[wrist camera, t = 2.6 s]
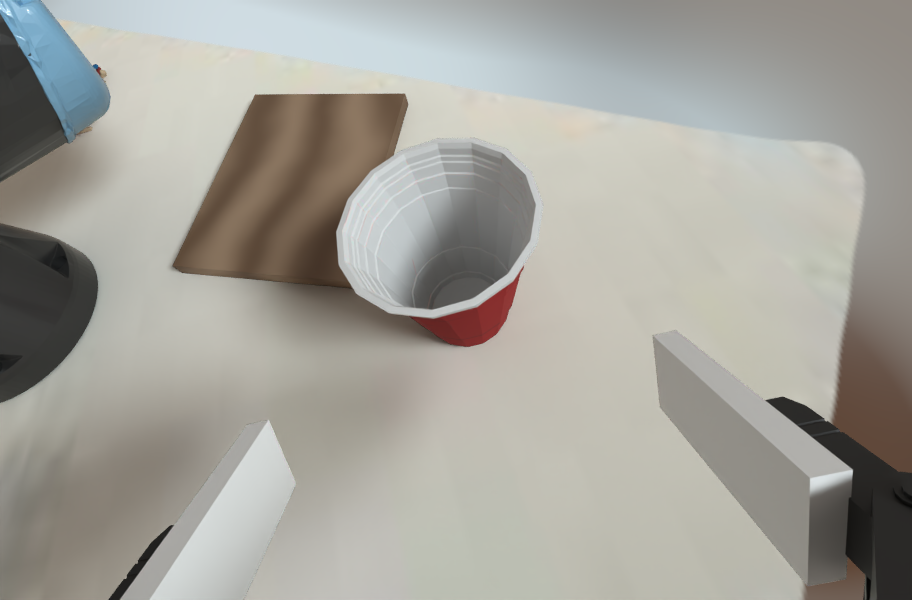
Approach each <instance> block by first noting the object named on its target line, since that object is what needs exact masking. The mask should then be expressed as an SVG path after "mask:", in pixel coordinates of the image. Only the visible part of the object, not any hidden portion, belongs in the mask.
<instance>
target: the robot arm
mask: <svg viewBox="0 0 912 600" xmlns="http://www.w3.org/2000/svg"><path fill="white" fill-rule="evenodd" d="M109 104H110V93H109V90H108V87H107V85H106V83H105V82H104V81H103V79H102V78H101V76H100V75H99V74H98V72H97V71H96V70H95V69H94V67H93V66H92V65H91V63H90V62H89V61H88V60H87V58H86V57H85V56H84V54H83V53H82V52H81V51H80V49H79V48H78V47H77V45H76V44H75V43H74V42H73V40H72V39H71V38H70V37H69V35H68V34H67V33H66V31H65V30H64V29H63V28H62V26H61V25H60V24H59V23H58V21H57V20H56V19H55V17H54V16H53V15H52V14H51V13H50V11H49V10H48V9H47V8H46V6H45V5H44V4H43V3H42V1H41V0H0V182H2V181H4V180H5V179H7V178H8V177H10V176H12V175H13V174H15V173H17V172H18V171H20V170H22V169H23V168H25V167H27V166H28V165H30V164H32V163H33V162H35V161H36V160H38V159H40V158H41V157H43V156H45V155H46V154H48V153H50V152H51V151H53V150H55V149H56V148H58V147H60V146H61V145H63V144H64V143H66V142H67V143H71V142H73V140H74V139H75V137H76V134H77V133H79V132H80V131H82V130H83V129H85V128H86V127H87V126H89V125H90V124H92V123H93V122H95V121H96V120H98V119H99V118H100V117H102V116H103V115H104V114H105V113H106V112H107V110H108V108H109ZM97 291H98V282H97V275H96V271H95V269H94V266H93V264H92V263H91V261H90V260H89V259H88V258H87V257H86V256H85V255H84V254H83V253H82V252H80V251H78V250H76V249H75V248H73V247H71V246H69V245H68V244H66V243H64V242H62V241H61V240H59V239H56V238H54V237H52V236H49V235H45V234H41V233H37V232H33V231H29V230H25V229H21V228H17V227H13V226H9V225H5V224H1V223H0V403H1V402H3V401H6V400H8V399H11V398H13V397H15V396H17V395H19V394H21V393H22V392H24V391H26V390H28V389H29V388H31V387H32V386H34V385H35V384H37V383H38V382H39V381H41V380H42V379H43V378H44V377H46V376H47V375H48V374H49V373H50V372H51V371H53V370H54V369H55V368H56V367H57V366H58V365H59V364H60V363H61V362H62V361H63V360H64V358H65V357H66V356H67V355H68V354H69V353H70V351H71V350H72V349H73V347H74V346H75V345H76V343H77V342H78V340H79V339H80V337H81V336H82V334H83V332H84V330H85V329H86V327H87V325H88V323H89V320H90V318H91V316H92V313H93V310H94V307H95V303H96V299H97ZM653 344H654V354H655V364H656V373H657V383H658V393H659V403H660V408H661V409H662V410H663V411H664V413H665V414H666V415H667V416H668V418H669V419H670V420H671V421H672V422H673V424H674V425H675V426H676V427H677V428H678V430H679V431H680V432H681V433H682V435H683V436H684V437H685V438H686V439H687V441H688V442H689V443H690V444H691V445H692V447H693V448H694V449H695V450H696V452H697V453H698V454H699V455H700V456H701V458H702V459H703V460H704V461H705V462H706V464H707V465H708V466H709V467H710V468H711V470H712V471H713V472H714V473H715V475H716V476H717V477H718V478H719V479H720V481H721V482H722V483H723V484H724V485H725V487H726V488H727V489H728V490H729V492H730V493H731V494H732V495H733V496H734V498H735V499H736V500H737V501H738V502H739V504H740V505H741V506H742V507H743V509H744V510H745V511H746V512H747V513H748V515H749V516H750V517H751V518H752V519H753V521H754V522H755V523H756V524H757V526H758V527H759V528H760V529H761V530H762V532H763V533H764V534H765V535H766V536H767V538H768V539H769V540H770V541H771V543H772V544H773V545H774V546H775V547H776V549H777V550H778V551H779V552H780V553H781V555H782V556H783V557H784V558H785V559H786V561H787V562H788V563H789V564H790V566H791V567H792V568H793V569H794V570H795V572H796V573H797V574H798V575H799V576H800V578H801V579H802V580H803V581H804V583H805V584H806V585H807V586H811V585H817V584H822V583H827V582H833V581H838V580H844V579H846V572H847V557H849V558H850V559H851V561H852V562H853V563H854V564H855V565H856V566H857V567H858V568H859V569H860V570H861V571H862V572H863V573H864V574H865V586H864V598H863V600H912V473H906V472H898V471H897V470H895V469H894V468H892V467H891V466H890V465H888V464H887V463H885V462H884V461H883V460H881V459H880V458H878V457H877V456H876V455H874V454H873V453H871V452H870V451H868V450H867V449H866V448H864V447H863V446H862V445H860V444H859V443H857V442H856V441H855V440H853V439H852V438H850V437H849V436H848V435H846V434H845V433H843V432H840V431H839V429H838V428H836V427H835V426H834V425H832V424H831V423H829V422H828V421H827V422H826V421H825V420H824V418H822V417H821V416H820V415H818V414H817V413H815V412H814V411H813V410H811V409H810V408H808V407H807V406H805V405H803V404H800V403H798V402H795V401H793V400H790V399H787V398H785V397H779V398H774V399H769V400H764V399H763V398H761V397H760V396H759V395H758V394H756V393H755V392H754V391H753V390H751V389H750V388H749V387H748V386H746V385H745V384H744V383H742V382H741V381H740V380H739V379H737V378H736V377H735V376H734V375H732V374H731V373H730V372H729V371H727V370H726V369H725V368H724V367H722V366H721V365H720V364H718V363H717V362H716V361H715V360H713V359H712V358H711V357H710V356H708V355H707V354H706V353H705V352H703V351H702V350H701V349H699V348H698V347H697V346H696V345H694V344H693V343H692V342H691V341H689V340H688V339H687V338H686V337H684V336H683V335H682V334H680V333H679V332H678V331H677V330H675V331H670V332H666V333H661V334H656V335H653ZM295 486H296V482H295V479H294V477H293V475H292V473H291V470H290V468H289V466H288V463H287V461H286V459H285V456H284V454H283V452H282V449H281V447H280V445H279V443H278V440H277V438H276V436H275V433H274V431H273V429H272V426H271V424H270V422H269V420H265V421H261V422H256V423H252V424H247V426H246V427H245V428H244V430H243V431H242V433H241V434H240V435H239V437H238V438H237V439H236V441H235V442H234V444H233V445H232V446H231V448H230V449H229V450H228V452H227V453H226V455H225V456H224V457H223V459H222V460H221V461H220V463H219V464H218V466H217V467H216V468H215V470H214V471H213V472H212V474H211V475H210V477H209V478H208V479H207V481H206V482H205V483H204V485H203V486H202V488H201V489H200V490H199V492H198V493H197V494H196V496H195V497H194V499H193V500H192V501H191V503H190V504H189V505H188V507H187V508H186V510H185V511H184V512H183V514H182V515H181V516H180V518H179V519H178V521H177V522H176V523H175V525H171V526H169V527H168V528H167V529H166V530H165V531H164V532H162V533H161V534H160V535H159V536H158V537H157V538H156V539H155V540H154V541H153V542H151V544H150V545H149V546H148V548H147V549H146V550H145V552H144V553H143V554H142V556H141V557H140V558H139V560H138V564H135V565H134V566H133V568H132V569H131V570H130V572H129V573H128V574H127V578H126V579H124V580H123V581H122V582H121V584H120V585H119V586H118V588H117V589H116V590H115V592H114V593H113V594H112V596H111V597H110V598H109V600H244V598H245V596H246V594H247V592H248V590H249V587H250V585H251V583H252V581H253V579H254V576H255V574H256V572H257V570H258V567H259V565H260V563H261V561H262V559H263V556H264V554H265V552H266V550H267V548H268V545H269V543H270V541H271V539H272V536H273V534H274V532H275V530H276V528H277V525H278V523H279V521H280V519H281V517H282V514H283V512H284V510H285V508H286V506H287V503H288V501H289V499H290V497H291V494H292V492H293V490H294V488H295Z"/></svg>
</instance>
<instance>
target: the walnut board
mask: <svg viewBox="0 0 912 600" xmlns="http://www.w3.org/2000/svg"><path fill="white" fill-rule="evenodd" d="M407 106H408V102H407V99H406V95H405V94H276V95H255V96H254V98H253V100H252V103H251V105H250V107H249V109H248V111H247V113H246V115H245V117H244V119H243V121H242V123H241V125H240V127H239V129H238V131H237V134H236V136H235V138H234V140H233V142H232V144H231V146H230V148H229V150H228V152H227V154H226V156H225V158H224V160H223V163H222V165H221V167H220V169H219V171H218V173H217V175H216V177H215V179H214V181H213V183H212V185H211V187H210V189H209V191H208V194H207V196H206V198H205V200H204V202H203V204H202V206H201V208H200V210H199V212H198V214H197V216H196V218H195V220H194V222H193V225H192V227H191V229H190V231H189V233H188V235H187V237H186V239H185V241H184V243H183V245H182V247H181V249H180V251H179V254H178V256H177V258H176V260H175V262H174V264H173V267H175V268H176V269H178V270H179V271H181V272H182V273H190V274H201V275H212V276H223V277H234V278H245V279H256V280H268V281H279V282H290V283H301V284H312V285H323V286H334V287H345V288H353V287H352V286H351V284H350V283H349V281H348V279H347V278H346V276H345V275H344V273H343V271H342V270H341V268H340V266H339V263H338V249H337V236H336V231H337V228H338V226H339V223H340V220H341V217H342V214H343V211H344V209H345V206H346V203H347V200H348V198H349V197H350V196H351V195H352V193H353V192H354V191H355V190H356V189H357V187H358V186H359V185H360V184H361V182H362V181H363V180H364V179H365V177H366V176H367V175H368V174H369V172H370V171H371V170H373V169H374V168H376V167H377V166H379V165H380V164H382V163H383V162H385V161H386V160H388V159H389V158H391V157H392V156H393V155H394V151H395V148H396V144H397V141H398V138H399V134H400V131H401V127H402V124H403V120H404V117H405V113H406V110H407Z"/></svg>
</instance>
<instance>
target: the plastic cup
mask: <svg viewBox="0 0 912 600" xmlns="http://www.w3.org/2000/svg"><path fill="white" fill-rule="evenodd" d="M542 211H543V201H542V199H541V196H540V193H539V190H538V187H537V185H536V182H535V179H534V176H533V173H532V171H531V170H529V169H528V168H527V167H526V166H525V165H524V164H523V163H522V162H521V161H520V160H519V159H518V158H516V157H515V156H514V155H513V154H512V153H511V152H510V151H509V150H508V149H506V148H503V147H500V146H497V145H494V144H491V143H488V142H485V141H482V140H479V139H476V138H437V139H434V140H431V141H428V142H425V143H422V144H419V145H416V146H413V147H410V148H407V149H403V150H401V151H400V152H398V153H397V154H395V155H394V156H392V157H391V158H389V159H388V160H386V161H385V162H383V163H382V164H380V165H379V166H377V167H376V168H374V169H373V170H371V171H370V172H369V174H368V175H367V176H366V177H365V179H364V180H363V181H362V182H361V184H360V185H359V186H358V187H357V189H356V190H355V191H354V192H353V193H352V195H351V196H350V197H349V198H348V200H347V203H346V206H345V209H344V211H343V214H342V217H341V220H340V223H339V226H338V228H337V231H336V236H337V249H338V263H339V266H340V268H341V270H342V271H343V273H344V275H345V276H346V278H347V279H348V281H349V283H350V284H351V286H352V287H353V289H354V291H355V292H356V294H357V295H359V296H361V297H362V298H364V299H366V300H368V301H369V302H371V303H373V304H374V305H376V306H378V307H379V308H381V309H383V310H384V311H386V312H388V313H390V314H395V315H404V316H410V317H411V318H412V319H414V320H415V321H416V322H418V323H419V324H420V325H422V326H423V327H425V328H426V329H428V330H429V331H431V332H433V333H434V334H435V335H436V336H438V337H439V338H441V339H443V340H444V341H446V342H448V343H449V344H453V345H459V346H465V347H470V346H474V345H478V344H482V343H484V342H486V341H487V340H489V339H490V338H492V337H493V336H495V335H496V334H497V333H498V331H499V330H500V328H501V327H502V325H503V324H504V322H505V321H506V319H507V315H508V312H509V309H510V308H511V306H512V303H513V299H514V295H515V292H516V288H517V284H518V281H519V277H520V273H521V272H522V270H523V268H524V264H525V263H526V261H527V260H528V258H529V257H530V255H531V254H532V252H533V250H534V249H535V247H536V245H537V243H538V238H539V231H540V224H541V218H542Z"/></svg>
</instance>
